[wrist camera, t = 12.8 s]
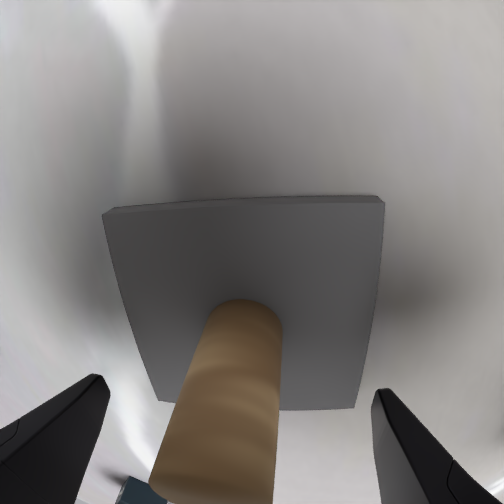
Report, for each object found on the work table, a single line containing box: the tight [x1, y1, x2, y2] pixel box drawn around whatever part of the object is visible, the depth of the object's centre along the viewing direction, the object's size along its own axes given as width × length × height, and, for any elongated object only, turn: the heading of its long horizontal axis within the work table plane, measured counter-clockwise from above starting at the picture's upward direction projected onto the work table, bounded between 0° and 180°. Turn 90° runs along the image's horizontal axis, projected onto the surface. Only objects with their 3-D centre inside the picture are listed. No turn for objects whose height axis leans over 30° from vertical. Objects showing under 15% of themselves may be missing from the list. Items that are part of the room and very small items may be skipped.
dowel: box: [148, 299, 283, 504], centre depth 9 cm, size 3×3×7 cm
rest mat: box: [102, 196, 385, 410], centre depth 12 cm, size 10×10×1 cm
